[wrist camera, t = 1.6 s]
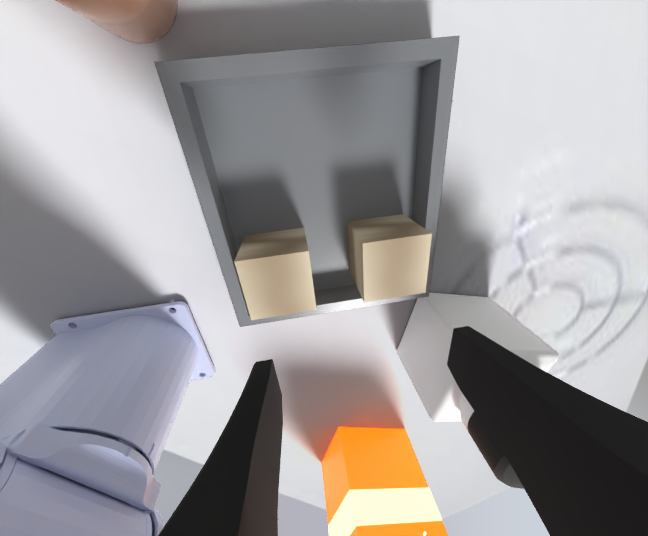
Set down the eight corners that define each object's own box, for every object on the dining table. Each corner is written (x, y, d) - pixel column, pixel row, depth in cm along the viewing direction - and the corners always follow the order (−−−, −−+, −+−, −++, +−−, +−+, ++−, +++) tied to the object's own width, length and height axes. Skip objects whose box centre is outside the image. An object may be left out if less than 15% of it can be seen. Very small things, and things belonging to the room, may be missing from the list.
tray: (244, 306, 21) (239, 326, 18) (175, 73, 13) (154, 62, 11) (414, 279, 22) (429, 296, 19) (432, 50, 14) (459, 35, 12)
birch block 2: (350, 272, 20) (364, 302, 16) (347, 221, 18) (362, 243, 14) (400, 264, 20) (425, 292, 16) (403, 214, 18) (432, 233, 15)
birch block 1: (257, 285, 19) (251, 320, 16) (244, 235, 17) (234, 261, 14) (311, 277, 19) (316, 309, 16) (304, 227, 18) (308, 251, 14)
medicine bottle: (458, 353, 27) (572, 498, 16) (394, 351, 25) (473, 508, 15) (489, 295, 24) (656, 428, 13) (418, 289, 22) (540, 432, 12)
